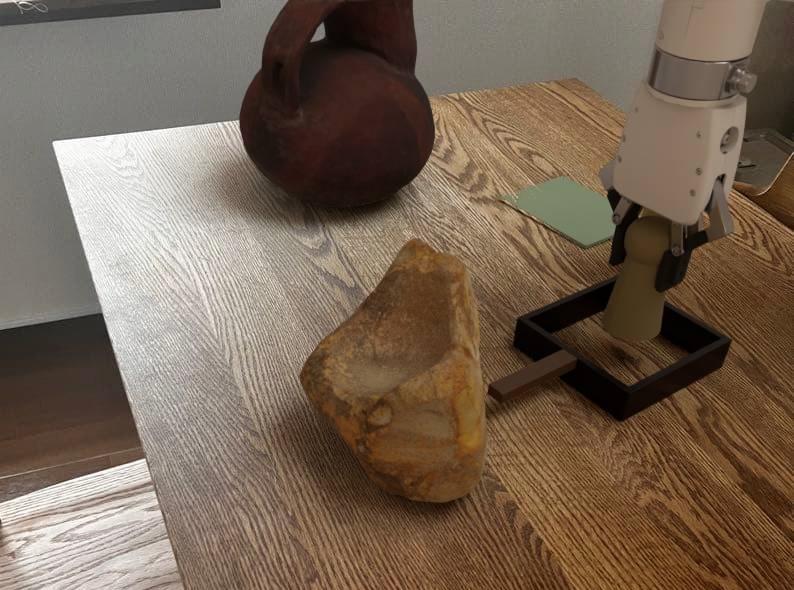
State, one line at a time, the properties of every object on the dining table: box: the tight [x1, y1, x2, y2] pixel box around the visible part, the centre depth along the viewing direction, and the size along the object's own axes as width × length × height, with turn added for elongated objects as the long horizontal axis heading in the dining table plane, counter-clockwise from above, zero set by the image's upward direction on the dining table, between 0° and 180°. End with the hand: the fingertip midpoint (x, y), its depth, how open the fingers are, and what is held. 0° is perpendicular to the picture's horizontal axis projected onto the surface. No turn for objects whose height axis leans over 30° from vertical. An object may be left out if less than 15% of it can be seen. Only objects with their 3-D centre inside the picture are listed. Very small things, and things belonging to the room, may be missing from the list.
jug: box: [238, 0, 436, 208], centre depth 103 cm, size 25×25×25 cm
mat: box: [501, 175, 642, 250], centre depth 109 cm, size 12×16×1 cm
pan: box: [486, 273, 733, 423], centre depth 84 cm, size 26×16×4 cm, turn 127°
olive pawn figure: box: [600, 215, 671, 342], centre depth 80 cm, size 6×6×11 cm
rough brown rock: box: [299, 237, 488, 503], centre depth 73 cm, size 23×17×15 cm
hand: (644, 272), depth 80 cm, fingers closed on olive pawn figure, 5 cm apart
